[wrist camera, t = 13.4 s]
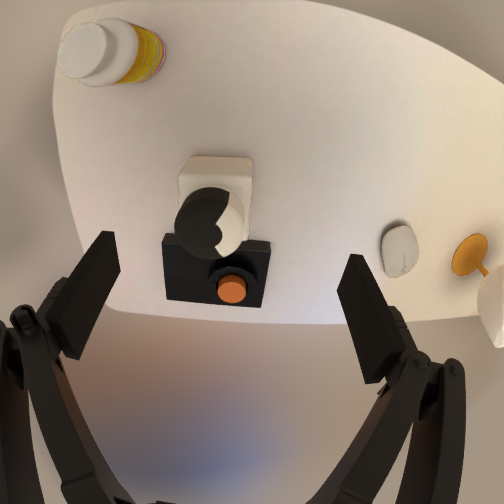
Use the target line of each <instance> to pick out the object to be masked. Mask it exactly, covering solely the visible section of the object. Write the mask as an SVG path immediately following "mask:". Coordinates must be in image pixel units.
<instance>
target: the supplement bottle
mask: <svg viewBox="0 0 504 504" xmlns="http://www.w3.org/2000/svg"><path fill="white" fill-rule="evenodd" d="M164 59H165V46H164V43H163V41H162V39H161V38H160V37H159V36H158V35H157V34H155V33H154V32H152V31H150V30H147V29H145V28H142V27H140V26H137V25H134V24H132V23H129V22H127V21H124V20H121V19H118V18H104V19H100V20H98V21H95V22H93V23H83V24H80V25H78V26H76V27H74V28H73V29H72V30H70V31H69V32H68V33H67V35H66V36H65V37H64V38H63V40H62V42H61V44H60V46H59V49H58V54H57V63H58V67H59V69H60V71H61V72H62V73H63V74H64V75H65V76H67V77H69V78H73V79H77V80H78V81H79V82H80V83H82V84H83V85H86V86H89V87H104V86H111V85H121V84H133V83H140V82H143V81H146V80H148V79H149V78H151V77H152V76H154V75H155V74H156V73H157V72H158V70H159V69H160V68H161V66H162V64H163V62H164Z"/></svg>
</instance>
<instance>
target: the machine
mask: <svg viewBox="0 0 504 504" xmlns="http://www.w3.org/2000/svg"><path fill="white" fill-rule="evenodd" d="M162 255H163V267H164V278H165V288H166V297H167V300H176V301H185V302H195V303H205V304H216V305H228V306H241V307H255V308H261V305H262V299H263V294H264V288H265V283H266V277H267V272H268V266H269V260H270V255H271V248H270V242H264V241H253V240H246V241H242V242H241V244H240V245H239V247H238V248H237V249H236V250H235V251H234V252H233V253H231V254H230V255H228V256H226V257H223V258H219V259H203V258H199V257H197V256H194V255H192V254H190V253H189V252H188V251H186V250H185V249H184V248H183V247H182V246H181V244H180V243H179V241H178V240H177V237H176V234H170V233H166V234H165V236H164V238H163V241H162ZM227 275H236V276H239V277H241V278H242V279H243V280H244V281H245V283H246V295H245V297H244V298H243V299H242V300H241V301H239V302H236V303H228V302H225V301H223V300H222V299H221V298H220V297H219V295H218V285H219V281H220V280H221V279H222V278H223V277H225V276H227Z"/></svg>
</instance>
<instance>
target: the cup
mask: <svg viewBox="0 0 504 504" xmlns="http://www.w3.org/2000/svg"><path fill="white" fill-rule="evenodd" d="M486 251H487V240H486V238H485V236H483V235H481V234H474V235H472V236H470V237H468V238H467V239H465V240H464V241H463V243H462V244H461V245H460V246H459V247H458V249H457V251H456V252H455V254H454V257H453V261H452V270H453V271H454V272H455V274H456V275H459V276H463V275H468V274H469V273H471V272H473V271H474V270H475V269H476V268H478V269H479V270H480V271H481V273H482V274H483V275H484V277H485V278H484V280H483V281H482V283H481V285H480V287H479V290H478V297H477V308H478V312H479V315H480V318H481V320H482V322H483V324H484V327H485V329H486V331H487V333H488V335H489V337H490V339H491V341H492V342H493V344H494V346H495V347H496V348H500V347H504V264H503V265H500V266H497V267H495V268H494V269H492V270H491V271H490V272H488V271H487V270H486V269H485V268H484V267H483V265H482V264H481V262H482V261H483V259H484V257H485V255H486Z"/></svg>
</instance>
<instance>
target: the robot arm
mask: <svg viewBox="0 0 504 504" xmlns="http://www.w3.org/2000/svg"><path fill="white" fill-rule="evenodd" d="M120 272H121V270H120V265H119V259H118V254H117V248H116V241H115V235H114V232H112V231H102V232H101V233H100V234H99V236H98V237H97V238H96V240H95V241H94V242H93V244H92V245H91V246H90V248H89V249H88V250H87V252H86V253H85V255H84V256H83V257H82V259H81V260H80V262H79V263H78V265H77V266H76V267H75V269H74V271H73V272H72V273H71V275H70V276H69V278H66V277H62V278H61V279H60V280H59V281H57V282H56V283H55V284H54V286H53V287H52V289H51V290H50V292H49V293H48V295H47V298H45V300H44V301H43V303H42V304H41V306H40V308H39V309H38V311H37V312H36V313H35V311H34V309H33V307H32V306H30V305H26V304H25V305H20V306H18V307H17V308H15V310H14V311H12V313H11V315H10V321H11V323H12V325H13V327H14V328H7V327H6V326H5V324H4V322H2V321H1V320H0V504H45V503H44V498H43V494H42V490H41V486H40V482H39V477H38V473H37V468H36V462H35V457H34V450H33V444H32V437H31V427H30V416H29V400H28V390H29V393H30V397H31V401H32V404H33V408H34V411H35V414H36V417H37V420H38V423H39V426H40V429H41V432H42V435H43V437H44V440H45V443H46V445H47V448H48V450H49V453H50V455H51V458H52V460H53V462H54V464H55V467H56V469H57V471H58V473H59V475H60V478H61V480H62V484H61V491H62V493H63V496H64V498H65V500H66V501H67V503H68V504H136V503H135V502H134V501H133V499H132V498H131V496H130V495H129V494H128V492H127V491H126V490H125V489H124V488H123V487H122V486H121V485H120V483H119V482H118V480H117V479H116V477H115V476H114V474H113V472H112V471H111V469H110V467H109V466H108V464H107V462H106V461H105V459H104V457H103V455H102V453H101V452H100V450H99V448H98V446H97V444H96V442H95V440H94V438H93V436H92V434H91V432H90V430H89V428H88V426H87V424H86V422H85V420H84V417H83V415H82V413H81V411H80V408H79V406H78V404H77V401H76V399H75V396H74V394H73V391H72V389H71V386H70V384H69V381H68V378H67V376H66V373H65V371H64V367H63V364H62V361H61V359H60V357H59V354H60V352H61V350H62V351H63V353H64V355H65V356H66V357H68V358H72V359H75V360H79V359H80V357H81V354H82V352H83V350H84V347H85V345H86V343H87V340H88V338H89V336H90V333H91V331H92V329H93V327H94V325H95V322H96V320H97V318H98V316H99V314H100V312H101V309H102V307H103V305H104V303H105V301H106V299H107V297H108V295H109V293H110V291H111V289H112V287H113V285H114V283H115V281H116V279H117V277H118V275H119V273H120ZM337 293H338V296H339V299H340V302H341V305H342V308H343V311H344V314H345V317H346V320H347V324H348V327H349V330H350V333H351V336H352V340H353V343H354V346H355V349H356V353H357V356H358V360H359V363H360V367H361V370H362V374H363V378H364V381H365V384H372V383H379V382H380V381H381V380H382V379H383V377H384V376H385V378H386V381H387V383H386V384H385V385H384V386H383V387H382V388H381V390H380V391H379V392H378V393H377V394H379V396H378V398H377V400H376V402H375V404H374V406H373V407H372V409H371V411H370V413H369V415H368V417H367V418H366V420H365V422H364V424H363V425H362V427H361V429H360V430H359V432H358V434H357V435H356V437H355V438H354V440H353V442H352V443H351V445H350V447H349V448H348V450H347V451H346V453H345V454H344V456H343V457H342V459H341V460H340V461H339V463H338V465H337V466H336V468H335V469H334V470H333V471H332V473H331V474H330V476H329V477H328V478H327V480H326V481H325V483H324V484H323V485H322V486H321V488H320V489H319V490H318V492H317V493H316V494H315V495H314V496H313V497H312V498H311V499H310V500H309V501H308V502H307V503H306V504H372V502H373V499H374V498H375V496H376V494H377V493H378V491H379V490H380V488H381V486H382V484H383V483H384V481H385V479H386V477H387V476H388V474H389V472H390V470H391V468H392V466H393V464H394V462H395V460H396V458H397V456H398V454H399V452H400V450H401V448H402V446H403V443H404V441H405V439H406V437H407V434H408V432H409V430H410V427H411V425H412V423H413V428H412V434H411V440H410V446H409V450H408V455H407V460H406V465H405V469H404V473H403V477H402V482H401V485H400V489H399V493H398V496H397V500H396V503H395V504H457V499H458V494H459V488H460V482H461V475H462V467H463V458H464V445H465V429H466V390H465V371H464V368H463V366H462V364H461V363H460V362H459V361H458V360H456V359H453V358H449V359H447V360H446V361H445V363H444V364H440V363H435V362H431V360H430V358H429V357H428V355H426V354H425V353H423V352H421V351H418V349H417V347H416V345H415V343H414V340H413V339H412V336H411V334H410V332H409V329H407V325H406V323H405V322H404V319H403V317H402V315H401V313H400V312H399V311H398V310H397V309H396V307H395V306H388V305H387V303H386V301H385V298H384V296H383V294H382V292H381V290H380V288H379V286H378V284H377V282H376V280H375V278H374V276H373V274H372V272H371V270H370V268H369V266H368V265H367V263H366V261H365V259H364V257H363V255H358V254H350V257H349V259H348V262H347V265H346V268H345V270H344V273H343V276H342V278H341V281H340V283H339V286H338V289H337ZM413 420H414V421H413ZM151 504H174V503H167V502H161V501H156V503H151Z"/></svg>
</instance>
